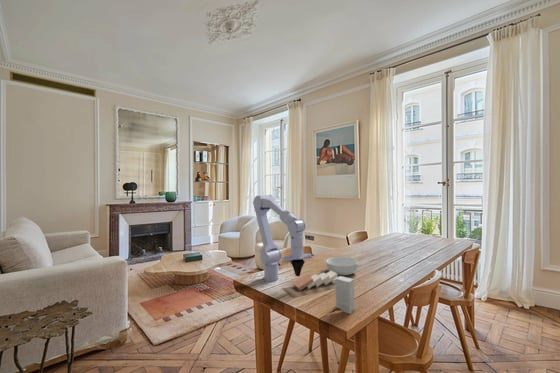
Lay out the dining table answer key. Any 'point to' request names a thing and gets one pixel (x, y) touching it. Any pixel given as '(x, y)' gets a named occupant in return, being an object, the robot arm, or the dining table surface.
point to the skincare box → (345, 294)
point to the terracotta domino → (303, 283)
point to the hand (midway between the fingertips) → (297, 275)
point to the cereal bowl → (342, 265)
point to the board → (308, 290)
